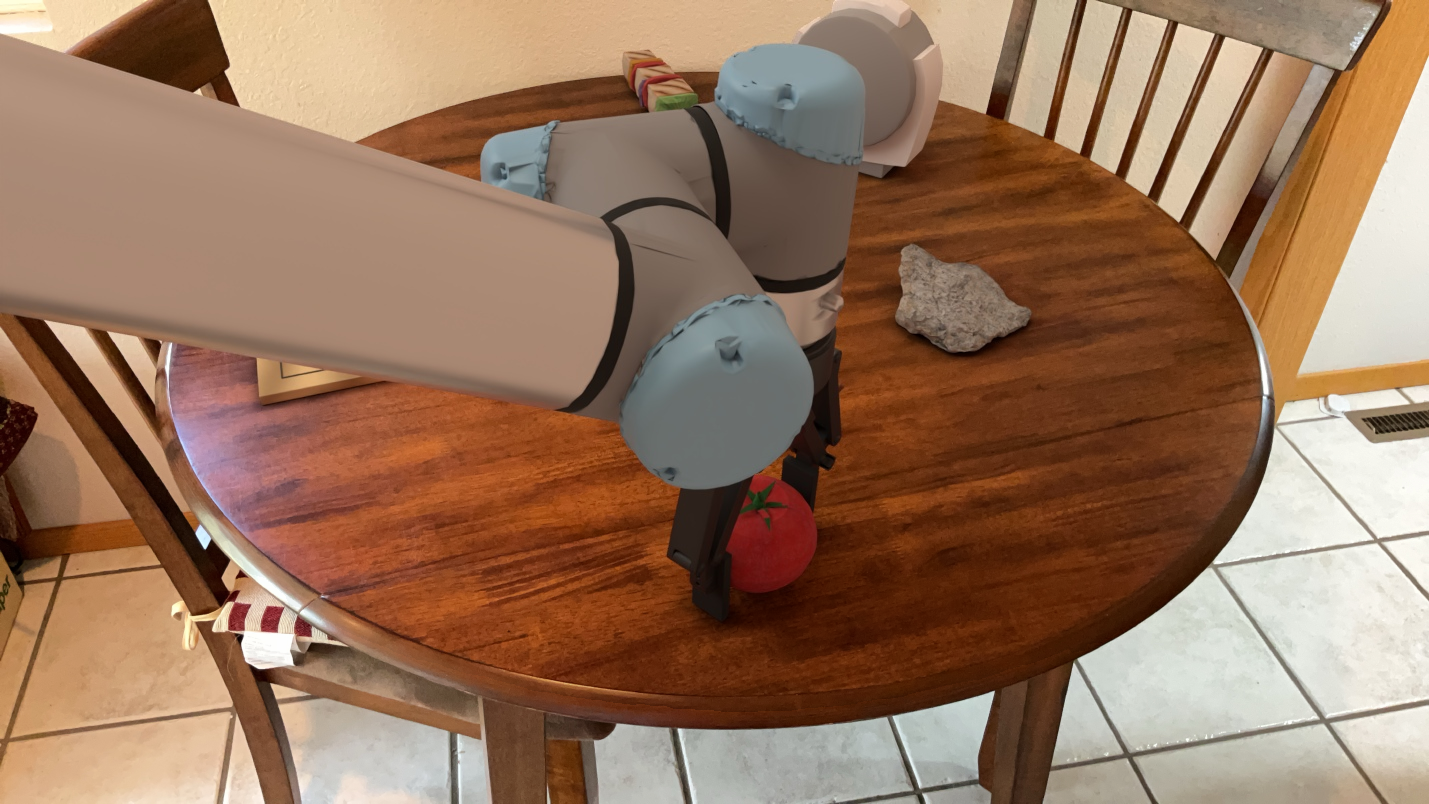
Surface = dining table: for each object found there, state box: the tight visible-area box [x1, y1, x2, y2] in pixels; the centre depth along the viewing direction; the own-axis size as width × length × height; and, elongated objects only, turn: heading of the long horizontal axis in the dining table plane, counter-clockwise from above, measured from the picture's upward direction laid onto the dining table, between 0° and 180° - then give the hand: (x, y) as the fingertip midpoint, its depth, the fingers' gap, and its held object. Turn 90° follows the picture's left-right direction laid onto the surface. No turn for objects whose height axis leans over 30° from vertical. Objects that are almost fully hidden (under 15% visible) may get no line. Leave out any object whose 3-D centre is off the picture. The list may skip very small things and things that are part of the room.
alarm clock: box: [790, 0, 944, 179], centre depth 117 cm, size 18×8×20 cm, turn 59°
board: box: [256, 358, 385, 406], centre depth 93 cm, size 18×18×1 cm
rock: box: [894, 243, 1032, 354], centre depth 98 cm, size 14×4×15 cm
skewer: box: [621, 49, 699, 113], centre depth 132 cm, size 21×6×5 cm, turn 22°
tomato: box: [726, 474, 818, 594], centre depth 70 cm, size 9×9×8 cm
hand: (753, 565), depth 72 cm, fingers open, 10 cm apart
